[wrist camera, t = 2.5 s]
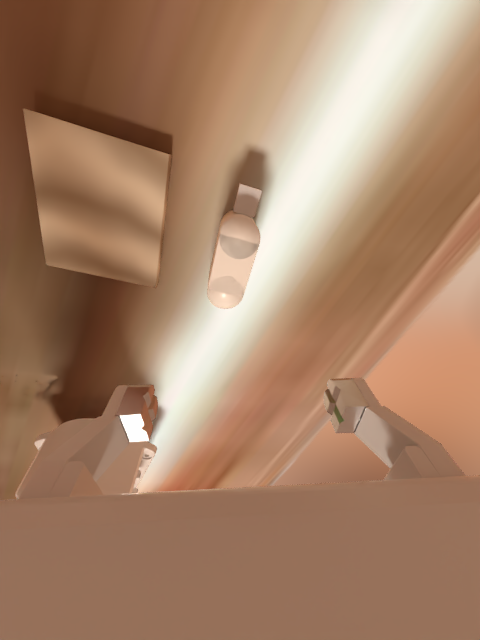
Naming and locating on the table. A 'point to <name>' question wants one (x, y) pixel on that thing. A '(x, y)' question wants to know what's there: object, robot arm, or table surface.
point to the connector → (235, 250)
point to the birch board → (98, 200)
